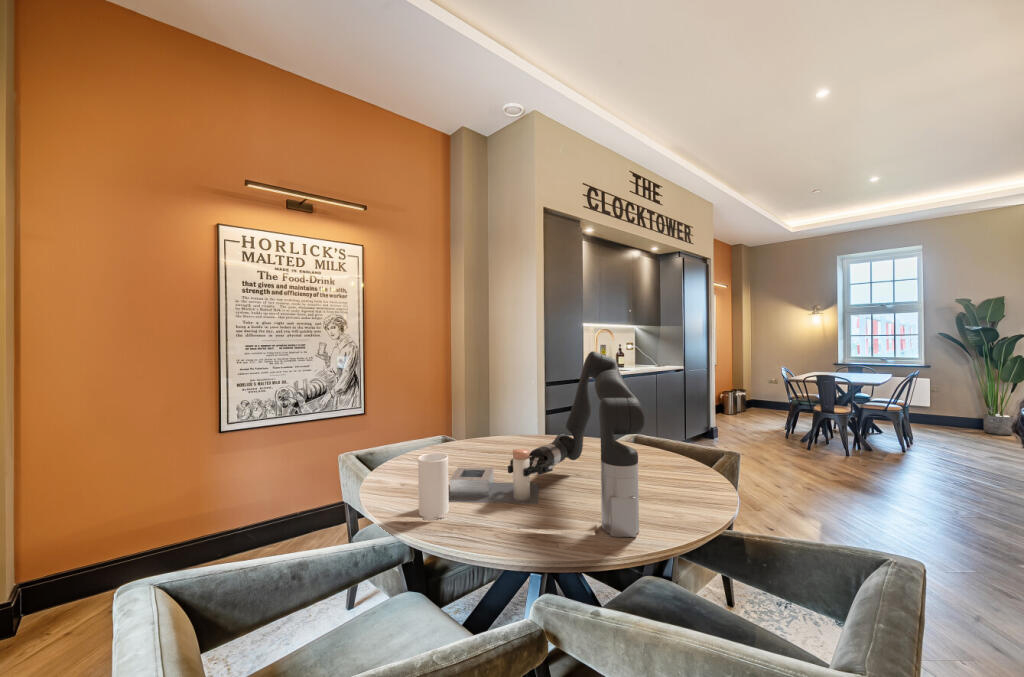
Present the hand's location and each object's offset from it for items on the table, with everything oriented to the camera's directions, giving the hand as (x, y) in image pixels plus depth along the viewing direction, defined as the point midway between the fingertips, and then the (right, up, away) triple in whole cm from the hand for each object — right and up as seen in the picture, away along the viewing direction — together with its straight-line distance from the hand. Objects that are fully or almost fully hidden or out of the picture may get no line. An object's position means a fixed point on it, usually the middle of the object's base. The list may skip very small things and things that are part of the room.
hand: (516, 471), depth 120 cm
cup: (-23, -10, -7) cm, 26 cm away
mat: (-7, -10, +7) cm, 14 cm away
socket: (-14, -9, +9) cm, 19 cm away
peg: (+2, -9, +2) cm, 9 cm away
